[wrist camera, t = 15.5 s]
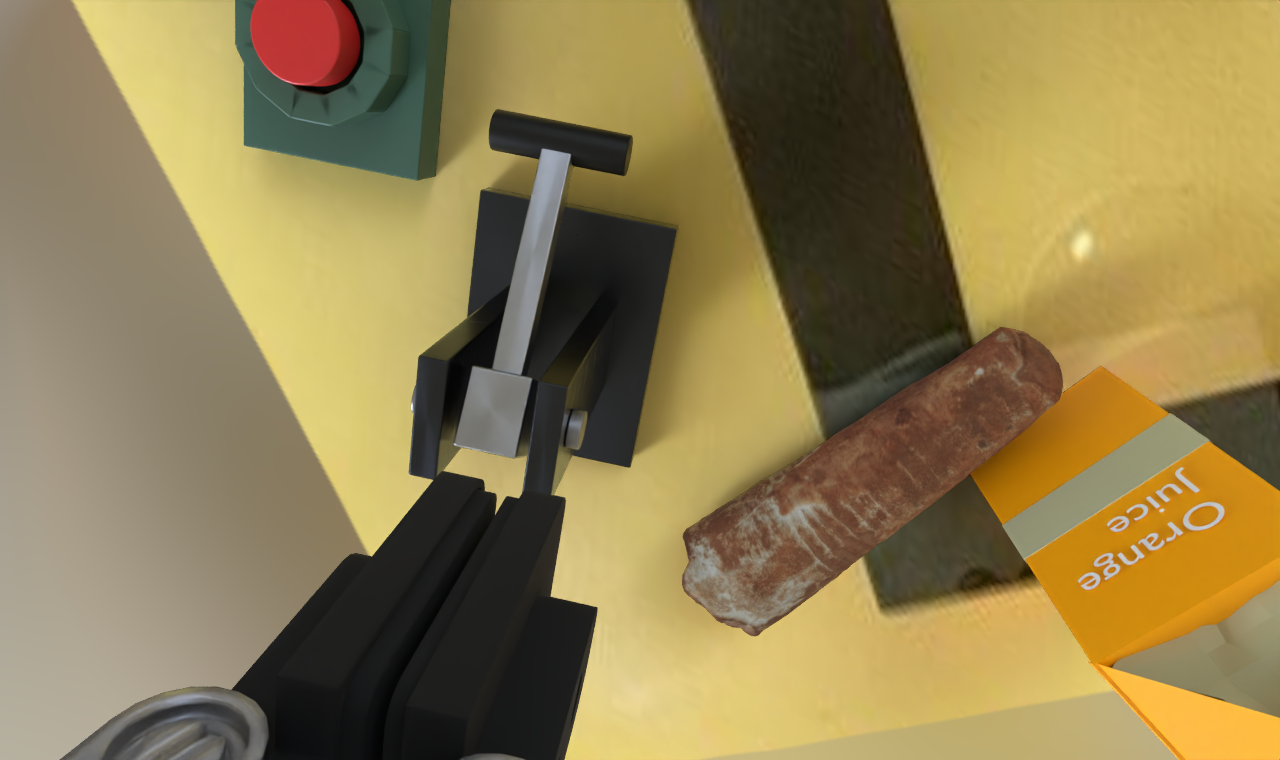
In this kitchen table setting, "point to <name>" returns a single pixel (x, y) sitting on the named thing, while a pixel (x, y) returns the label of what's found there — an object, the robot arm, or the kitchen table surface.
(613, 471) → the kitchen table surface
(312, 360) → the kitchen table surface
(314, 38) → the button
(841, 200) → the kitchen table surface
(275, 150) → the button box
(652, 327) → the bracket
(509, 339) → the lever
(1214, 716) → the orange juice
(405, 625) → the robot arm
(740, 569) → the salami
